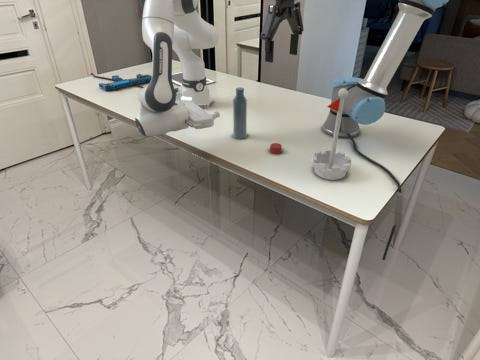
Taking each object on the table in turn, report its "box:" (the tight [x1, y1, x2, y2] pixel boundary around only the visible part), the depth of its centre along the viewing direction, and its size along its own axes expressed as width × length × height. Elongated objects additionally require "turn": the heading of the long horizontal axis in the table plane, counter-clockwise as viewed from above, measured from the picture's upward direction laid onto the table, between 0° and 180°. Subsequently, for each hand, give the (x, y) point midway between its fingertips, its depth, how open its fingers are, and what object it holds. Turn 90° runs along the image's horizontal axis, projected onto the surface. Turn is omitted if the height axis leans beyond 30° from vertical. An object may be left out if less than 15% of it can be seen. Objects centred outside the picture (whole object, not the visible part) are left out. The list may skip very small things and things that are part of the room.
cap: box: [269, 142, 283, 155], centre depth 133 cm, size 4×4×3 cm
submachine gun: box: [98, 73, 152, 91], centre depth 208 cm, size 34×4×25 cm
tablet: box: [172, 71, 216, 87], centre depth 213 cm, size 32×20×1 cm, turn 41°
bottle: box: [232, 86, 248, 140], centre depth 140 cm, size 6×6×21 cm
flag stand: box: [312, 88, 352, 181], centre depth 113 cm, size 13×13×30 cm
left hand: (213, 110), depth 133 cm, fingers open, 8 cm apart
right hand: (281, 58), depth 114 cm, fingers open, 13 cm apart
